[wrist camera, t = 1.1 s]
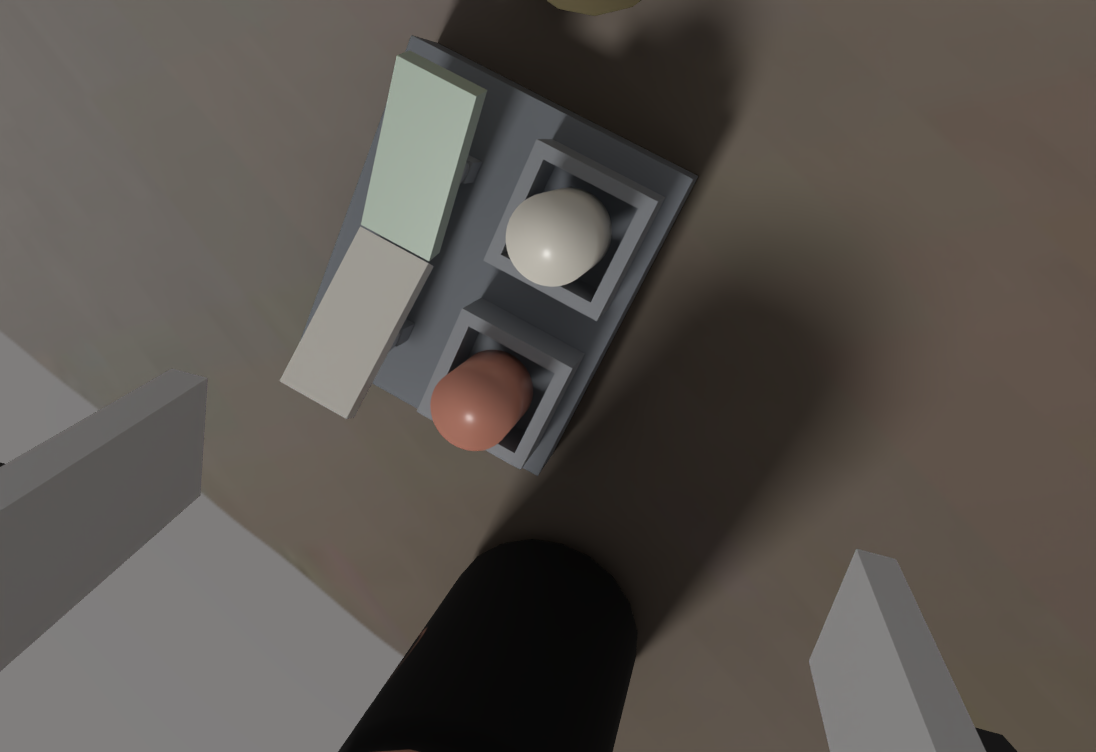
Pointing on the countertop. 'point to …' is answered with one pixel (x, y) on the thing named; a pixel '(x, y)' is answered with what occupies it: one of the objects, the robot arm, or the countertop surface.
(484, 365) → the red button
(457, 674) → the coffee jar
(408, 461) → the countertop surface
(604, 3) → the squeeze bottle
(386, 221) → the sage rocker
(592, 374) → the panel
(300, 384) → the block
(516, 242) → the ivory button
